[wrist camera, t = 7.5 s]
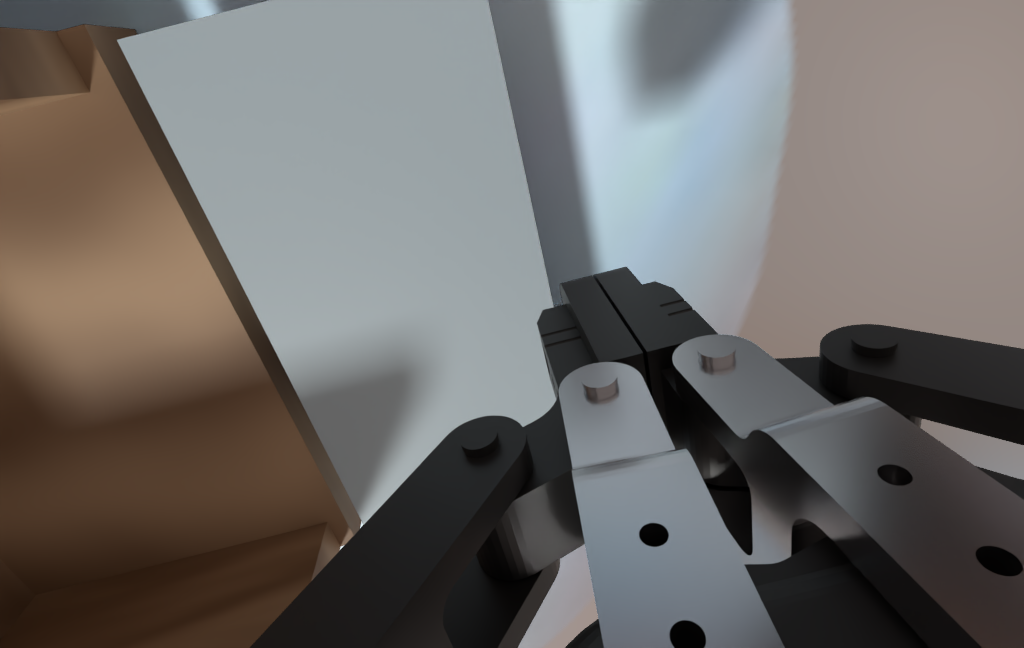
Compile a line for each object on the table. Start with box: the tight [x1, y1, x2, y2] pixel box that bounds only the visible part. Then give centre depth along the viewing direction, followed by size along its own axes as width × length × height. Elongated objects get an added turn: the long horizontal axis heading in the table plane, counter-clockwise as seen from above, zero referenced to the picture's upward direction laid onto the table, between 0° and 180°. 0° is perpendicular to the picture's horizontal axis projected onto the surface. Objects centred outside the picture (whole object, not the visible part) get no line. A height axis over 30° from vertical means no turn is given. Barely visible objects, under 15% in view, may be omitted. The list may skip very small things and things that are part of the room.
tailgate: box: [117, 0, 556, 525], centre depth 15 cm, size 15×2×8 cm
